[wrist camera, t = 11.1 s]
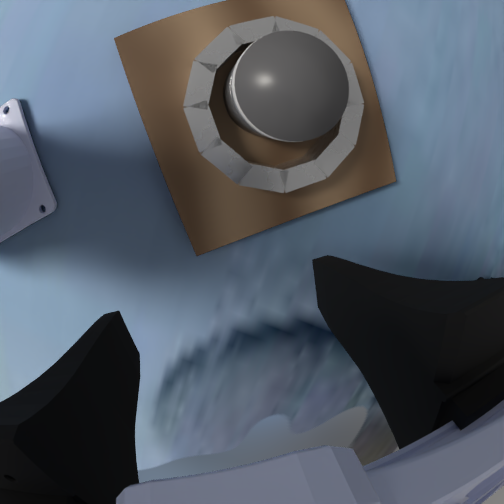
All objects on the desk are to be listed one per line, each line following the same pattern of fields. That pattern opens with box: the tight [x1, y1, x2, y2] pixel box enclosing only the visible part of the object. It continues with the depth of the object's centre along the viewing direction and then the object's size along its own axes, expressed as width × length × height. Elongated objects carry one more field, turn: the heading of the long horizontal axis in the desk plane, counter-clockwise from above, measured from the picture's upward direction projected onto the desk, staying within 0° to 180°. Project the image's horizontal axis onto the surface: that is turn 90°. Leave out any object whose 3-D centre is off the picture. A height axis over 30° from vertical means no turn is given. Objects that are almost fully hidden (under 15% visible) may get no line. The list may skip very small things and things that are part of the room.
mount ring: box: [183, 16, 364, 193], centre depth 16 cm, size 9×9×2 cm
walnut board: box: [114, 0, 396, 256], centre depth 17 cm, size 14×14×1 cm
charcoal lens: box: [223, 31, 349, 142], centre depth 14 cm, size 5×5×5 cm
